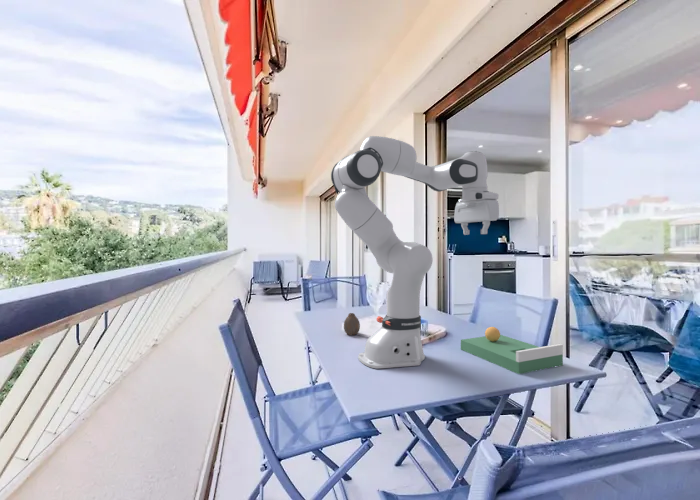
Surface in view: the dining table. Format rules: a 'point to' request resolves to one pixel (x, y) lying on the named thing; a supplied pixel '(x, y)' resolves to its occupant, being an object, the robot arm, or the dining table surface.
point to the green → (514, 353)
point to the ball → (492, 334)
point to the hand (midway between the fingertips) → (474, 234)
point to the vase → (351, 324)
